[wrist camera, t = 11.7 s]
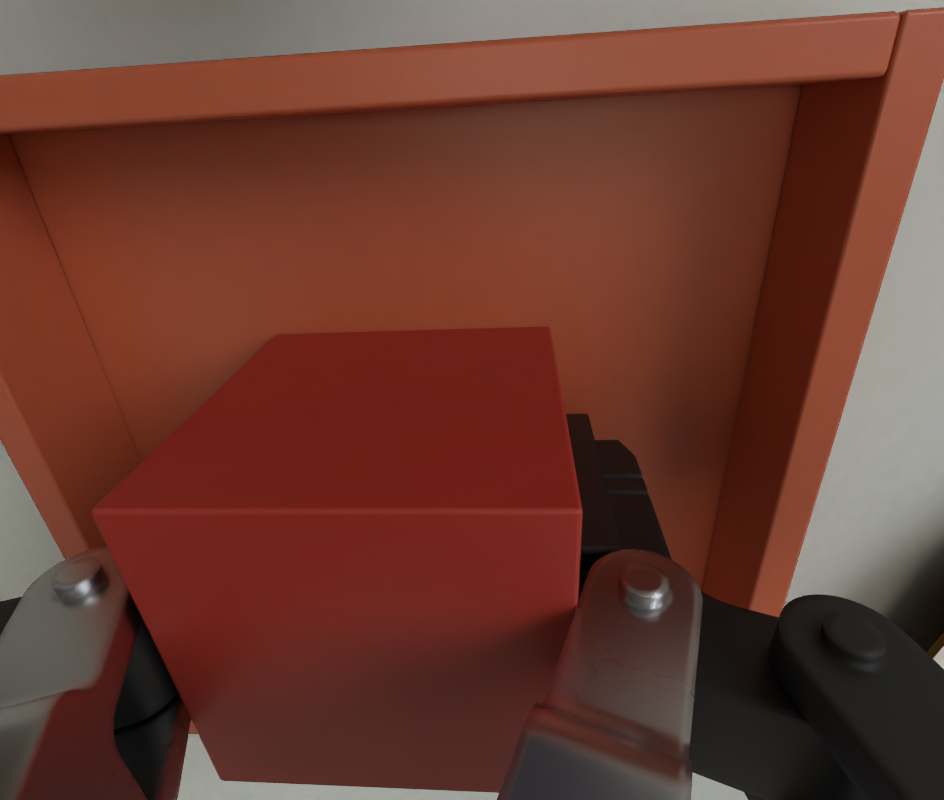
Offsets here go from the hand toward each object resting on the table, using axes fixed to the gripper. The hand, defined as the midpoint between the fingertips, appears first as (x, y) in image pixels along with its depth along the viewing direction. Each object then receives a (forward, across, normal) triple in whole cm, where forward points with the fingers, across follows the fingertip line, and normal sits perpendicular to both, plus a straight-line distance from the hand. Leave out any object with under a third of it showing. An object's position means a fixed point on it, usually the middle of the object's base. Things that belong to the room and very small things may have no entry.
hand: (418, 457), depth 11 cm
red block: (0, 0, 0) cm, 0 cm away
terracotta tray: (+1, 0, 0) cm, 1 cm away
